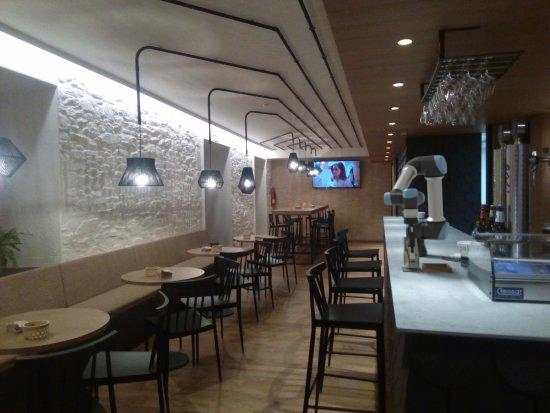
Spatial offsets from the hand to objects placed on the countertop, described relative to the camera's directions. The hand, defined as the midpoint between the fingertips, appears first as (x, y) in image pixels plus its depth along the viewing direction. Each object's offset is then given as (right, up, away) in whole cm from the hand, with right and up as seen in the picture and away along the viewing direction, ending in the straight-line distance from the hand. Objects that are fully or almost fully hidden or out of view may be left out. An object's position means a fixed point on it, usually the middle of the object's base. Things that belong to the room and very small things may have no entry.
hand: (411, 257), depth 237 cm
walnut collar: (+13, -7, -3) cm, 15 cm away
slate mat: (0, -7, 0) cm, 7 cm away
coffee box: (0, -5, 0) cm, 5 cm away
